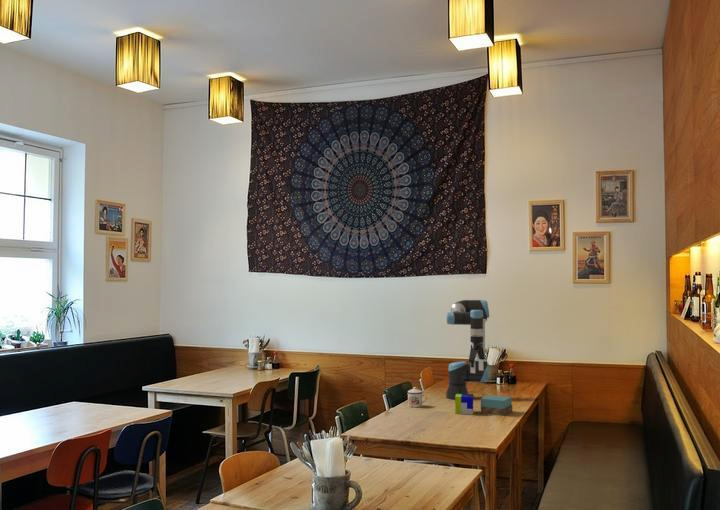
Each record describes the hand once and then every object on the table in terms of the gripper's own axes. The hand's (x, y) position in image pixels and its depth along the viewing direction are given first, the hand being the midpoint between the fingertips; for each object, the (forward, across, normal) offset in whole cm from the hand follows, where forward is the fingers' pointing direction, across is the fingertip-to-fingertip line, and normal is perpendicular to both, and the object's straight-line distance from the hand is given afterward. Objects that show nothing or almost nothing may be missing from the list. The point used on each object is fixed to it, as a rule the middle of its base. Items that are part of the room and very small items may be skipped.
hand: (477, 371), depth 394 cm
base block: (+24, +1, -12) cm, 26 cm away
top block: (+19, +1, -11) cm, 22 cm away
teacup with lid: (+23, -5, +37) cm, 44 cm away
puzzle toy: (+23, -8, +5) cm, 25 cm away
